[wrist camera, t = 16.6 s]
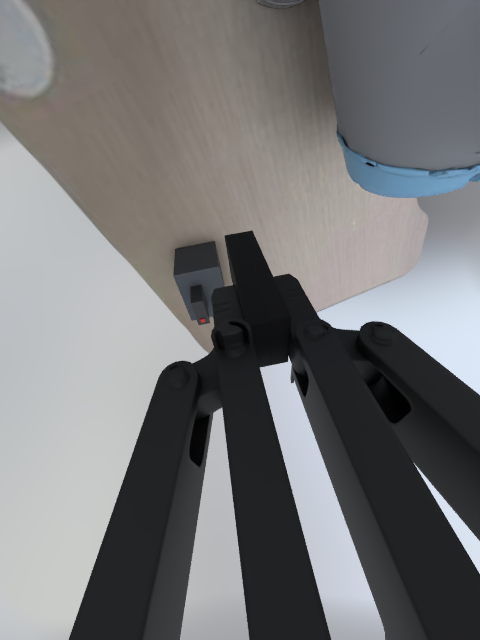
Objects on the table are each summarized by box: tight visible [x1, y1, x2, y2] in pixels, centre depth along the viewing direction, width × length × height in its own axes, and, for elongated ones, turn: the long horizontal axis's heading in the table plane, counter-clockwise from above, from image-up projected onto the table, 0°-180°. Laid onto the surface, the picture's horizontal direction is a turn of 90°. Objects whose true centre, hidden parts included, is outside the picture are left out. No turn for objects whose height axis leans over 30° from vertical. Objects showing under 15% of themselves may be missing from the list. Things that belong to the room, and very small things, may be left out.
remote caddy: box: [174, 241, 225, 325], centre depth 39 cm, size 7×10×12 cm
